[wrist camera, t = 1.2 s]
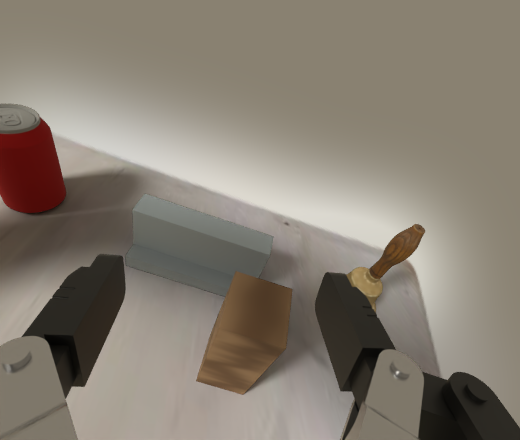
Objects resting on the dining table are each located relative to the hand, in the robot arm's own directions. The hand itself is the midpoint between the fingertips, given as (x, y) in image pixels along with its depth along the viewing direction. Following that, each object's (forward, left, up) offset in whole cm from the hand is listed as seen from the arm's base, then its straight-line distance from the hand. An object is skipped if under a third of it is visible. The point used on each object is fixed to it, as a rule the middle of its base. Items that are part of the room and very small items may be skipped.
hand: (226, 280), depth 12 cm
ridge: (-4, +16, -23) cm, 28 cm away
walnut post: (+3, +5, -23) cm, 23 cm away
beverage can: (-27, +18, -23) cm, 40 cm away
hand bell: (+18, +18, -23) cm, 34 cm away
